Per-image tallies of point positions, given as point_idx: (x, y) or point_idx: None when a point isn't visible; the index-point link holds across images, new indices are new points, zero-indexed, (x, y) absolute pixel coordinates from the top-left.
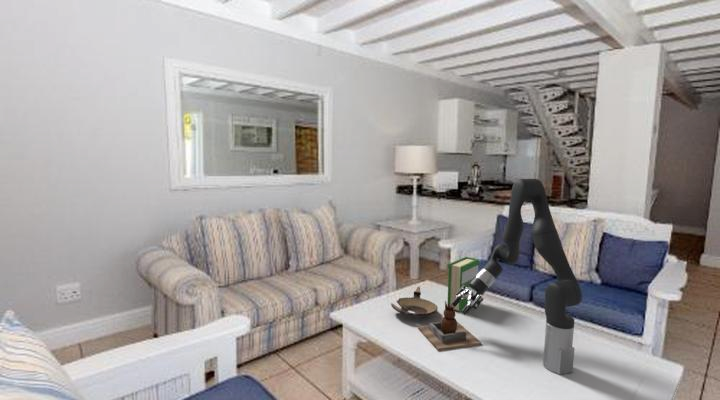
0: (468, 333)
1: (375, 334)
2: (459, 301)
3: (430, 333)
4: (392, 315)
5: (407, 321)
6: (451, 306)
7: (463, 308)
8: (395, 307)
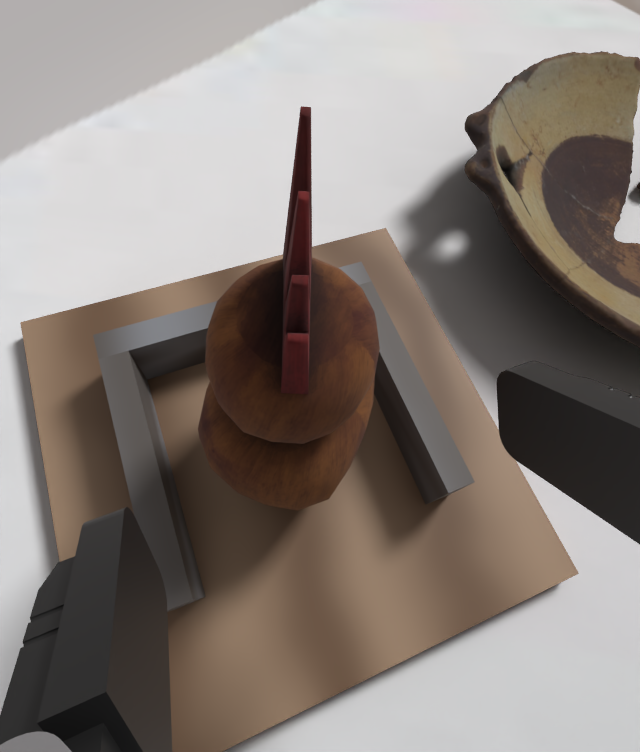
0: (320, 665)
1: (268, 40)
2: (634, 532)
3: None
4: None
5: (482, 191)
6: (289, 305)
7: (116, 559)
8: (593, 85)
